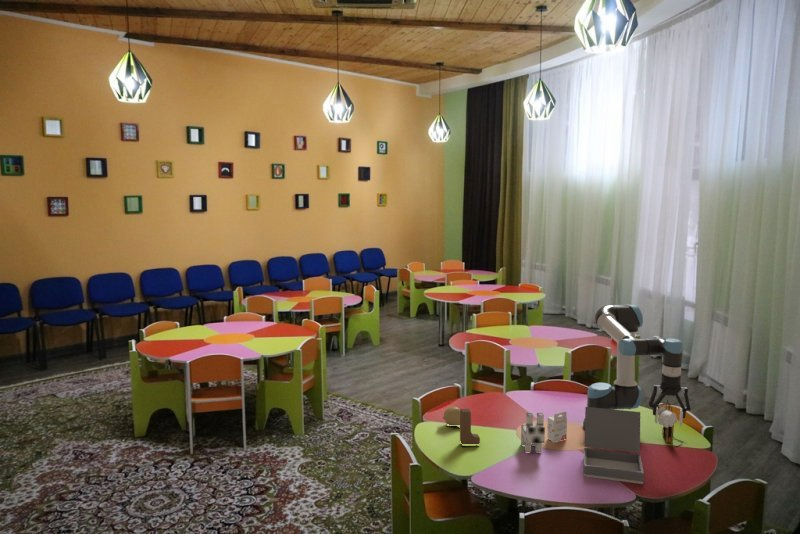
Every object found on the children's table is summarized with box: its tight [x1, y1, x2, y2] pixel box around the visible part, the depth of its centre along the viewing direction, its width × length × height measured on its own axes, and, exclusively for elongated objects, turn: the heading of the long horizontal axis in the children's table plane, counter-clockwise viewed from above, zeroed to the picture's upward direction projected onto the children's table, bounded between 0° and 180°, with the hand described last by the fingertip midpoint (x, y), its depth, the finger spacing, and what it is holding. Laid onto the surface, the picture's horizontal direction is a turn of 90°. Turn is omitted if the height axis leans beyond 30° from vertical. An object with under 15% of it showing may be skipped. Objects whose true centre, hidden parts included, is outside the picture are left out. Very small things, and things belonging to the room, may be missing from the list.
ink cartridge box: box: [547, 411, 568, 443], centre depth 291 cm, size 9×5×15 cm, turn 118°
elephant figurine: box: [657, 406, 680, 428], centre depth 257 cm, size 8×10×7 cm
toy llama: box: [520, 412, 546, 453], centre depth 280 cm, size 8×18×20 cm, turn 1°
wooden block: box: [459, 408, 481, 444], centre depth 286 cm, size 9×4×18 cm, turn 97°
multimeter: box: [661, 399, 687, 448], centre depth 288 cm, size 15×10×20 cm
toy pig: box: [442, 405, 461, 425], centre depth 309 cm, size 10×12×11 cm
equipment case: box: [583, 447, 645, 485], centre depth 259 cm, size 24×18×5 cm
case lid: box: [583, 406, 641, 454], centre depth 271 cm, size 24×18×2 cm
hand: (668, 423), depth 258 cm, fingers closed on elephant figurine, 9 cm apart
